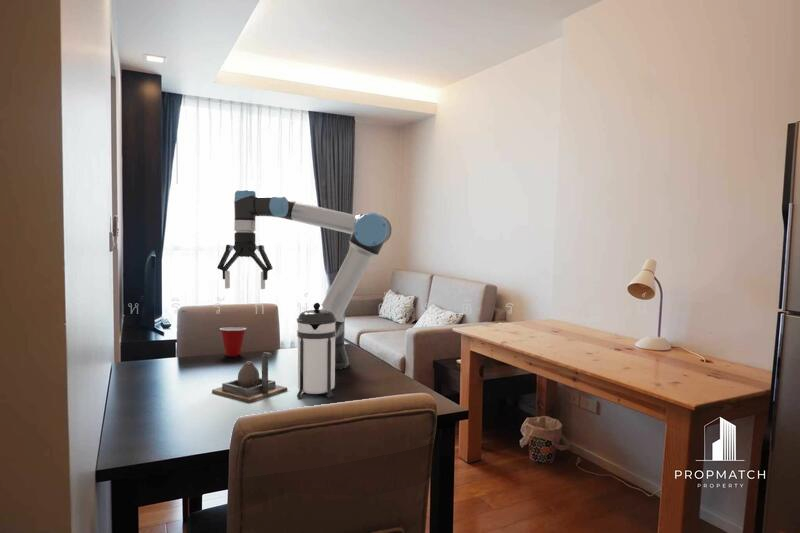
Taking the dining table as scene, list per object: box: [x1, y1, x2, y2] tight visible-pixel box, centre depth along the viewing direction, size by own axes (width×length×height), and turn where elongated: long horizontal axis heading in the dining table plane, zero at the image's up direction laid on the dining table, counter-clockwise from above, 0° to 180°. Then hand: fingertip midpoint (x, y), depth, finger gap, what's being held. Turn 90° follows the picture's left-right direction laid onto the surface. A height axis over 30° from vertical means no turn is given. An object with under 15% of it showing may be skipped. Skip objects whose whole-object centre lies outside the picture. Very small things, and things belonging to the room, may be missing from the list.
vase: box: [237, 360, 260, 389], centre depth 169 cm, size 7×7×9 cm
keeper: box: [211, 351, 288, 404], centre depth 168 cm, size 16×18×14 cm
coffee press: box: [296, 302, 337, 400], centre depth 168 cm, size 17×16×30 cm
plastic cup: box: [219, 326, 247, 357], centre depth 221 cm, size 11×11×12 cm
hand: (245, 288), depth 192 cm, fingers open, 13 cm apart
